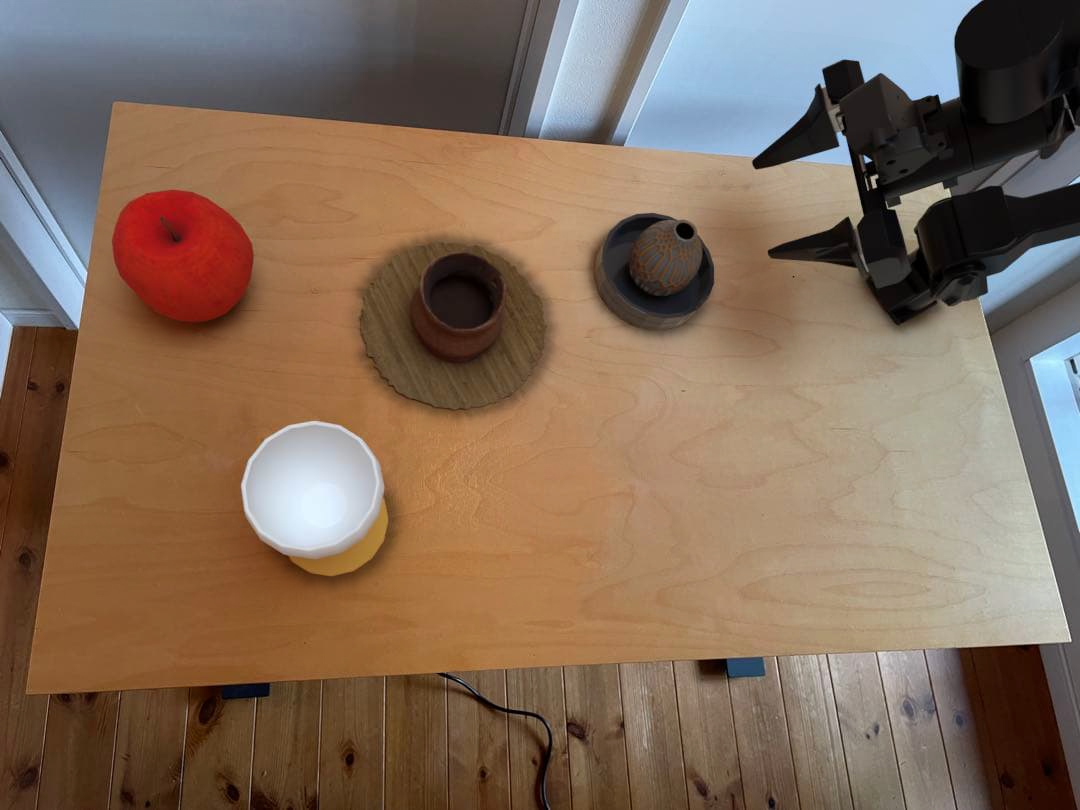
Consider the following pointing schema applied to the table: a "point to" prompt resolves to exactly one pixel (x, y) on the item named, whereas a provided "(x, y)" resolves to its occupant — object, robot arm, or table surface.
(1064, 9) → the robot arm
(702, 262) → the pan
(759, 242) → the table surface
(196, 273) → the apple
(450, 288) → the ceramic pot
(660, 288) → the vase
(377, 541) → the cup
